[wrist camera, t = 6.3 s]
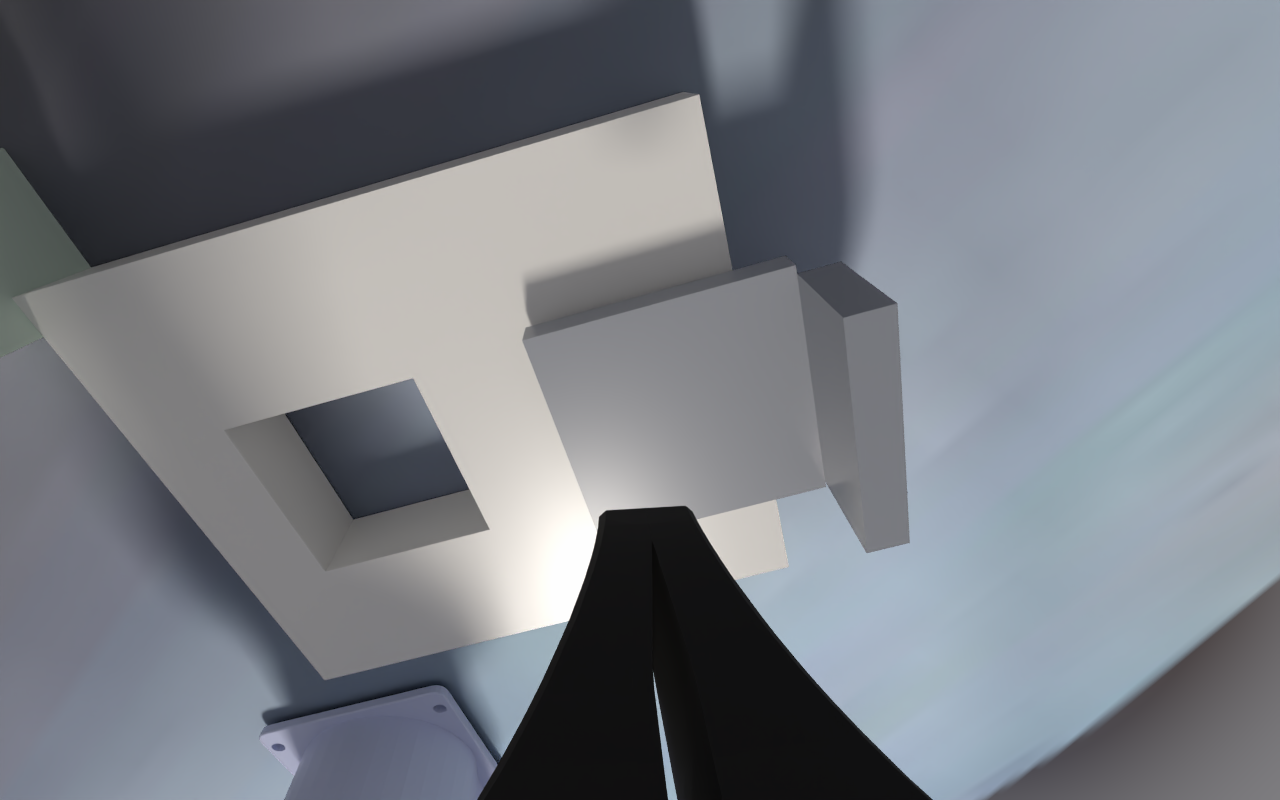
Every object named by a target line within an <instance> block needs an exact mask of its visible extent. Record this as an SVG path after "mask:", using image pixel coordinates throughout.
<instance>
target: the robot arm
mask: <svg viewBox="0 0 1280 800" xmlns="http://www.w3.org/2000/svg"><path fill="white" fill-rule="evenodd" d="M653 672H654V677H655V683H656V688H657V694H658V699H659V704H660V710H661V715H662V720H663V726H664V731H665V736H666V741H667V747H668V752H669V757H670V763H671V768H672V773H673V778H674V784H675V789H676V794H677V799H678V800H932V799H931V798H930V797H929V796H928V795H927V794H926V793H925V792H924V791H923V790H921V789H920V788H919V787H918V786H917V785H916V784H915V783H914V782H913V781H911V780H910V779H909V778H908V777H907V776H906V775H905V774H904V773H903V772H902V771H901V770H900V769H899V768H898V767H897V766H896V765H895V764H894V763H893V762H892V761H891V760H890V759H889V758H888V757H887V756H886V755H885V754H884V753H883V752H882V751H881V750H880V749H879V748H878V747H877V746H876V745H875V744H874V743H873V742H872V741H871V740H870V739H869V738H868V737H867V736H866V735H865V734H864V733H863V732H862V731H861V730H860V729H859V728H858V727H857V726H856V725H855V724H854V723H853V722H852V721H851V720H850V719H849V718H848V717H847V715H846V714H845V713H844V712H843V711H842V710H841V709H840V708H839V707H838V706H837V705H836V704H835V703H834V702H833V701H832V700H831V699H830V697H829V696H828V695H827V694H826V693H825V692H824V691H823V690H822V689H821V687H820V686H819V685H818V684H817V683H816V682H815V681H814V680H813V678H812V677H811V676H810V675H809V674H808V673H807V672H806V670H805V669H804V668H803V667H802V666H801V665H800V663H799V662H798V661H797V660H796V659H795V657H794V656H793V655H792V654H791V653H790V651H789V650H788V649H787V648H786V646H785V645H784V644H783V643H782V642H781V640H780V639H779V638H778V637H777V636H776V634H775V633H774V632H773V630H772V629H771V628H770V627H769V625H768V624H767V623H766V622H765V620H764V619H763V618H762V616H761V615H760V614H759V612H758V611H757V610H756V608H755V607H754V606H753V604H752V603H751V602H750V600H749V599H748V597H747V596H746V595H745V593H744V592H743V591H742V589H741V588H740V587H739V585H738V584H737V582H736V581H735V580H734V578H733V577H732V575H731V574H730V572H729V571H728V569H727V568H726V566H725V565H724V563H723V562H722V560H721V559H720V557H719V556H718V554H717V553H716V551H715V550H714V548H713V546H712V545H711V543H710V542H709V540H708V538H707V537H706V535H705V533H704V532H703V530H702V528H701V526H700V525H699V523H698V521H697V519H696V517H695V515H694V513H693V511H691V510H690V509H689V508H688V507H687V506H671V507H654V508H636V509H619V510H606V511H605V512H604V513H602V514H601V515H600V516H599V521H598V530H597V535H596V540H595V544H594V549H593V552H592V556H591V559H590V563H589V566H588V569H587V572H586V576H585V579H584V581H583V584H582V587H581V590H580V592H579V595H578V598H577V600H576V603H575V606H574V608H573V611H572V614H571V616H570V619H569V622H568V624H567V626H566V629H565V631H564V633H563V636H562V638H561V640H560V642H559V645H558V647H557V649H556V651H555V653H554V656H553V658H552V660H551V662H550V665H549V667H548V669H547V671H546V673H545V676H544V678H543V680H542V682H541V684H540V686H539V688H538V690H537V692H536V694H535V696H534V698H533V700H532V702H531V704H530V706H529V708H528V710H527V712H526V714H525V716H524V718H523V720H522V722H521V723H520V725H519V727H518V729H517V731H516V733H515V734H514V736H513V738H512V740H511V742H510V744H509V745H508V747H507V749H506V751H505V753H504V755H503V756H502V758H501V760H500V762H499V763H498V764H497V763H496V761H495V760H494V758H493V757H492V755H491V754H490V752H489V751H488V749H487V748H486V746H485V745H484V743H483V742H482V740H481V739H480V737H479V736H478V734H477V733H476V731H475V730H474V728H473V727H472V725H471V724H470V722H469V721H468V719H467V718H466V716H465V715H464V713H463V712H462V710H461V709H460V707H459V706H458V704H457V703H456V701H455V700H454V698H453V697H452V695H451V694H450V692H449V691H448V690H447V689H446V688H445V687H443V686H440V685H432V686H428V687H424V688H420V689H416V690H412V691H407V692H403V693H399V694H395V695H391V696H387V697H383V698H379V699H374V700H370V701H366V702H362V703H358V704H354V705H350V706H345V707H341V708H337V709H333V710H329V711H325V712H321V713H316V714H312V715H308V716H304V717H300V718H296V719H292V720H287V721H283V722H279V723H275V724H271V725H268V726H266V727H264V729H263V730H262V732H261V734H260V736H259V740H260V741H261V743H262V744H263V745H264V746H265V747H266V748H267V749H268V750H269V751H270V752H271V753H272V754H273V755H274V756H275V757H276V758H277V759H278V760H279V761H280V762H281V763H282V764H283V765H284V766H285V767H286V768H287V770H288V771H289V772H290V773H291V774H292V775H293V776H294V778H293V780H292V783H291V785H290V787H289V790H288V792H287V794H286V797H285V799H284V800H668V796H667V789H666V781H665V773H664V765H663V757H662V749H661V741H660V733H659V725H658V717H657V708H656V700H655V692H654V679H653Z"/></svg>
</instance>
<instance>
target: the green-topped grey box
mask: <svg viewBox="0 0 1280 800" xmlns="http://www.w3.org/2000/svg"><path fill="white" fill-rule="evenodd" d="M88 268H91V267H90V265H89V264H88V263H87V261H86V260H85V259H84V257H83V256H82V254H81V253H80V252H79V250H78V249H77V248H76V246H75V245H74V243H73V242H72V241H71V239H70V238H69V237H68V235H67V234H66V233H65V231H64V230H63V228H62V227H61V226H60V224H59V223H58V222H57V220H56V219H55V218H54V216H53V215H52V213H51V212H50V211H49V209H48V208H47V207H46V205H45V204H44V202H43V201H42V200H41V198H40V197H39V196H38V194H37V193H36V192H35V190H34V189H33V187H32V186H31V185H30V183H29V182H28V181H27V179H26V178H25V176H24V175H23V174H22V172H21V171H20V170H19V168H18V167H17V166H16V164H15V163H14V161H13V160H12V159H11V157H10V156H9V155H8V153H7V152H6V150H5V149H4V148H0V358H1V357H3V356H5V355H7V354H9V353H11V352H14V351H16V350H18V349H20V348H22V347H24V346H26V345H28V344H30V343H32V342H35V341H37V340H39V339H41V338H43V336H42V334H41V333H40V332H39V331H38V330H37V328H36V327H35V326H34V325H33V323H32V322H31V321H30V320H29V319H28V317H27V316H26V315H25V314H24V312H23V311H22V310H21V309H20V308H19V306H18V305H17V304H16V303H15V301H14V300H13V299H12V298H13V297H15V296H18V295H20V294H23V293H26V292H28V291H31V290H33V289H36V288H39V287H41V286H44V285H47V284H49V283H52V282H54V281H57V280H60V279H62V278H65V277H67V276H70V275H73V274H75V273H78V272H80V271H83V270H86V269H88Z"/></svg>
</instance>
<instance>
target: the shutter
mask: <svg viewBox="0 0 1280 800" xmlns="http://www.w3.org/2000/svg"><path fill="white" fill-rule="evenodd" d="M522 341H523V344H524V347H525V349H526V352H527V354H528V357H529V359H530V362H531V364H532V367H533V370H534V372H535V375H536V377H537V380H538V382H539V385H540V387H541V390H542V393H543V395H544V398H545V400H546V403H547V405H548V408H549V410H550V413H551V416H552V418H553V421H554V423H555V426H556V428H557V431H558V433H559V436H560V439H561V441H562V444H563V446H564V449H565V451H566V454H567V457H568V459H569V462H570V464H571V467H572V469H573V472H574V474H575V477H576V480H577V482H578V485H579V487H580V490H581V492H582V495H583V497H584V500H585V503H586V505H587V508H588V510H589V513H590V515H591V518H592V520H593V523H594V526H595V528H596V531H597V530H598V521H599V516H600V515H601V514H602V513H604V512H605V511H606V510H619V509H636V508H654V507H671V506H687V507H688V508H689V509H690V510H691V511H693V513H694V515H695V517H696V519H700V518H704V517H708V516H712V515H716V514H720V513H724V512H728V511H732V510H736V509H740V508H744V507H748V506H752V505H756V504H760V503H764V502H768V501H772V500H776V499H780V498H784V497H788V496H792V495H795V494H799V493H803V492H807V491H811V490H815V489H819V488H823V487H826V484H827V485H828V487H829V489H830V490H831V492H832V494H833V496H834V497H835V499H836V501H837V503H838V504H839V506H840V508H841V509H842V511H843V513H844V515H845V516H846V518H847V520H848V522H849V523H850V525H851V527H852V528H853V530H854V532H855V534H856V535H857V537H858V539H859V541H860V542H861V544H862V546H863V548H864V549H865V551H866V553H870V552H874V551H878V550H882V549H886V548H890V547H894V546H898V545H902V544H906V543H910V540H909V520H908V501H907V482H906V462H905V443H904V424H903V404H902V385H901V366H900V346H899V327H898V308H897V303H896V302H895V301H893V300H892V299H891V298H889V297H888V296H887V295H885V294H884V293H883V292H881V291H880V290H879V289H877V288H876V287H875V286H873V285H872V284H870V283H869V282H868V281H866V280H865V279H864V278H862V277H861V276H860V275H858V274H857V273H856V272H854V271H853V270H852V269H850V268H849V267H848V266H846V265H845V264H844V263H842V262H837V263H834V264H830V265H826V266H823V267H819V268H815V269H812V270H808V271H805V272H801V273H797V270H796V265H795V264H794V263H793V262H792V261H791V260H790V259H789V258H788V257H787V256H783V257H779V258H775V259H772V260H768V261H764V262H761V263H757V264H754V265H750V266H746V267H743V268H739V269H736V270H732V271H728V272H725V273H721V274H717V275H714V276H710V277H707V278H703V279H699V280H696V281H692V282H689V283H685V284H681V285H678V286H674V287H670V288H667V289H663V290H660V291H656V292H652V293H649V294H645V295H642V296H638V297H634V298H631V299H627V300H623V301H620V302H616V303H613V304H609V305H605V306H602V307H598V308H595V309H591V310H587V311H584V312H580V313H577V314H573V315H569V316H566V317H562V318H558V319H555V320H551V321H548V322H544V323H540V324H537V325H533V326H530V327H526V328H525V331H524V335H523V339H522ZM825 482H826V484H825Z"/></svg>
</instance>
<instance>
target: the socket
mask: <svg viewBox="0 0 1280 800" xmlns="http://www.w3.org/2000/svg"><path fill="white" fill-rule="evenodd" d="M728 271H732V265H731V259H730V254H729V249H728V243H727V238H726V233H725V228H724V222H723V217H722V212H721V207H720V201H719V196H718V191H717V185H716V180H715V175H714V170H713V164H712V159H711V154H710V149H709V143H708V138H707V133H706V127H705V122H704V117H703V112H702V106H701V101H700V96H699V94H693V93H688V92H681V93H678V94H675V95H671V96H668V97H665V98H661V99H658V100H654V101H651V102H648V103H644V104H641V105H638V106H634V107H631V108H627V109H624V110H621V111H617V112H614V113H611V114H607V115H604V116H600V117H597V118H594V119H590V120H587V121H584V122H580V123H577V124H573V125H570V126H567V127H563V128H560V129H557V130H553V131H550V132H547V133H543V134H540V135H536V136H533V137H530V138H526V139H523V140H520V141H516V142H513V143H509V144H506V145H503V146H499V147H496V148H493V149H489V150H486V151H482V152H479V153H476V154H472V155H469V156H466V157H462V158H459V159H455V160H452V161H449V162H445V163H442V164H439V165H435V166H432V167H428V168H425V169H422V170H418V171H415V172H412V173H408V174H405V175H401V176H398V177H395V178H391V179H388V180H385V181H381V182H378V183H375V184H371V185H368V186H364V187H361V188H358V189H354V190H351V191H348V192H344V193H341V194H337V195H334V196H331V197H327V198H324V199H321V200H317V201H314V202H310V203H307V204H304V205H300V206H297V207H294V208H290V209H287V210H283V211H280V212H277V213H273V214H270V215H267V216H263V217H260V218H256V219H253V220H250V221H246V222H243V223H240V224H236V225H233V226H230V227H226V228H223V229H219V230H216V231H213V232H209V233H206V234H203V235H199V236H196V237H192V238H189V239H186V240H182V241H179V242H176V243H172V244H169V245H165V246H162V247H159V248H155V249H152V250H149V251H145V252H142V253H138V254H135V255H132V256H128V257H125V258H122V259H118V260H115V261H111V262H108V263H105V264H101V265H98V266H95V267H91V268H88V269H86V270H83V271H80V272H78V273H75V274H73V275H70V276H67V277H65V278H62V279H60V280H57V281H54V282H52V283H49V284H47V285H44V286H41V287H39V288H36V289H33V290H31V291H28V292H26V293H23V294H20V295H18V296H15V297H13V298H12V299H13V300H14V301H15V303H16V304H17V305H18V306H19V308H20V309H21V310H22V311H23V312H24V314H25V315H26V316H27V317H28V319H29V320H30V321H31V322H32V323H33V325H34V326H35V327H36V328H37V330H38V331H39V332H40V333H41V334H42V336H43V337H44V338H45V339H46V341H47V342H48V343H49V344H50V345H51V347H52V348H53V349H54V350H55V352H56V353H57V354H58V355H59V356H60V358H61V359H62V360H63V361H64V363H65V364H66V365H67V366H68V367H69V369H70V370H71V371H72V372H73V374H74V375H75V376H76V377H77V378H78V380H79V381H80V382H81V383H82V385H83V386H84V387H85V388H86V389H87V391H88V392H89V393H90V394H91V395H92V397H93V398H94V399H95V400H96V402H97V403H98V404H99V405H100V406H101V408H102V409H103V410H104V411H105V413H106V414H107V415H108V416H109V417H110V419H111V420H112V421H113V422H114V424H115V425H116V426H117V427H118V428H119V430H120V431H121V432H122V433H123V435H124V436H125V437H126V438H127V439H128V441H129V442H130V443H131V444H132V446H133V447H134V448H135V449H136V450H137V452H138V453H139V454H140V455H141V457H142V458H143V459H144V460H145V461H146V463H147V464H148V465H149V466H150V468H151V469H152V470H153V471H154V472H155V474H156V475H157V476H158V477H159V479H160V480H161V481H162V482H163V483H164V485H165V486H166V487H167V488H168V490H169V491H170V492H171V493H172V494H173V496H174V497H175V498H176V499H177V501H178V502H179V503H180V504H181V505H182V507H183V508H184V509H185V510H186V511H187V513H188V514H189V515H190V516H191V518H192V519H193V520H194V521H195V522H196V524H197V525H198V526H199V527H200V529H201V530H202V531H203V532H204V533H205V535H206V536H207V537H208V538H209V540H210V541H211V542H212V543H213V544H214V546H215V547H216V548H217V549H218V551H219V552H220V553H221V554H222V555H223V557H224V558H225V559H226V560H227V562H228V563H229V564H230V565H231V566H232V568H233V569H234V570H235V571H236V573H237V574H238V575H239V576H240V577H241V579H242V580H243V581H244V582H245V584H246V585H247V586H248V587H249V588H250V590H251V591H252V592H253V593H254V595H255V596H256V597H257V598H258V599H259V601H260V602H261V603H262V604H263V606H264V607H265V608H266V609H267V610H268V612H269V613H270V614H271V615H272V617H273V618H274V619H275V620H276V621H277V623H278V624H279V625H280V626H281V628H282V629H283V630H284V631H285V632H286V634H287V635H288V636H289V637H290V638H291V640H292V641H293V642H294V643H295V645H296V646H297V647H298V648H299V649H300V651H301V652H302V653H303V654H304V656H305V657H306V658H307V659H308V660H309V662H310V663H311V664H312V665H313V667H314V668H315V669H316V670H317V671H318V673H319V674H320V675H321V676H322V678H323V679H324V680H329V679H333V678H337V677H341V676H345V675H349V674H353V673H357V672H361V671H365V670H370V669H374V668H378V667H382V666H386V665H390V664H394V663H398V662H402V661H406V660H410V659H414V658H419V657H423V656H427V655H431V654H435V653H439V652H443V651H447V650H451V649H455V648H459V647H463V646H468V645H472V644H476V643H480V642H484V641H488V640H492V639H496V638H500V637H504V636H508V635H513V634H517V633H521V632H525V631H529V630H533V629H537V628H541V627H545V626H549V625H553V624H557V623H562V622H566V621H569V619H570V616H571V614H572V611H573V608H574V606H575V603H576V600H577V598H578V595H579V592H580V590H581V587H582V584H583V581H584V579H585V576H586V572H587V569H588V566H589V563H590V559H591V556H592V552H593V549H594V544H595V540H596V535H597V531H596V528H595V526H594V523H593V520H592V518H591V515H590V513H589V510H588V508H587V505H586V503H585V500H584V497H583V495H582V492H581V490H580V487H579V485H578V482H577V480H576V477H575V474H574V472H573V469H572V467H571V464H570V462H569V459H568V457H567V454H566V451H565V449H564V446H563V444H562V441H561V439H560V436H559V433H558V431H557V428H556V426H555V423H554V421H553V418H552V416H551V413H550V410H549V408H548V405H547V403H546V400H545V398H544V395H543V393H542V390H541V387H540V385H539V382H538V380H537V377H536V375H535V372H534V370H533V367H532V364H531V362H530V359H529V357H528V354H527V352H526V349H525V347H524V344H523V341H522V339H523V335H524V331H525V328H526V327H530V326H533V325H537V324H540V323H544V322H548V321H551V320H555V319H558V318H562V317H566V316H569V315H573V314H577V313H580V312H584V311H587V310H591V309H595V308H598V307H602V306H605V305H609V304H613V303H616V302H620V301H623V300H627V299H631V298H634V297H638V296H642V295H645V294H649V293H652V292H656V291H660V290H663V289H667V288H670V287H674V286H678V285H681V284H685V283H689V282H692V281H696V280H699V279H703V278H707V277H710V276H714V275H717V274H721V273H725V272H728ZM412 378H413V379H414V381H415V383H416V385H417V387H418V389H419V390H420V392H421V394H422V396H423V398H424V400H425V402H426V404H427V406H428V408H429V410H430V412H431V414H432V416H433V418H434V420H435V422H436V424H437V426H438V428H439V430H440V432H441V434H442V436H443V438H444V440H445V442H446V444H447V446H448V448H449V450H450V452H451V454H452V456H453V458H454V460H455V462H456V464H457V466H458V468H459V470H460V471H461V473H462V475H463V477H464V479H465V481H466V483H467V485H468V487H469V490H465V491H461V492H457V493H453V494H450V495H446V496H442V497H438V498H434V499H430V500H427V501H423V502H419V503H415V504H411V505H407V506H404V507H400V508H396V509H392V510H388V511H384V512H381V513H377V514H373V515H369V516H365V517H362V518H358V519H354V520H353V518H352V517H351V515H350V514H349V512H348V511H347V509H346V508H345V506H344V505H343V503H342V501H341V500H340V498H339V497H338V495H337V494H336V492H335V491H334V489H333V488H332V486H331V484H330V483H329V481H328V480H327V478H326V477H325V475H324V474H323V472H322V471H321V469H320V467H319V466H318V464H317V463H316V461H315V460H314V458H313V457H312V455H311V454H310V452H309V450H308V449H307V447H306V446H305V444H304V443H303V441H302V440H301V438H300V437H299V435H298V433H297V432H296V430H295V429H294V427H293V426H292V424H291V423H290V421H289V420H288V418H287V416H286V415H285V413H288V412H292V411H296V410H299V409H303V408H306V407H310V406H314V405H317V404H321V403H325V402H328V401H332V400H336V399H339V398H343V397H346V396H350V395H354V394H357V393H361V392H365V391H368V390H372V389H376V388H379V387H383V386H387V385H390V384H394V383H397V382H401V381H405V380H408V379H412ZM697 521H698V523H699V525H700V526H701V528H702V530H703V532H704V533H705V535H706V537H707V538H708V540H709V542H710V543H711V545H712V546H713V548H714V550H715V551H716V553H717V554H718V556H719V557H720V559H721V560H722V562H723V563H724V565H725V566H726V568H727V569H728V571H729V572H730V574H731V575H732V577H733V578H734V580H737V579H741V578H745V577H749V576H754V575H758V574H762V573H766V572H770V571H774V570H778V569H782V568H786V567H789V565H788V560H787V554H786V549H785V544H784V539H783V533H782V528H781V523H780V518H779V512H778V507H777V502H776V500H772V501H768V502H764V503H760V504H756V505H752V506H748V507H744V508H740V509H736V510H732V511H728V512H724V513H720V514H716V515H712V516H708V517H704V518H700V519H697Z"/></svg>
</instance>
